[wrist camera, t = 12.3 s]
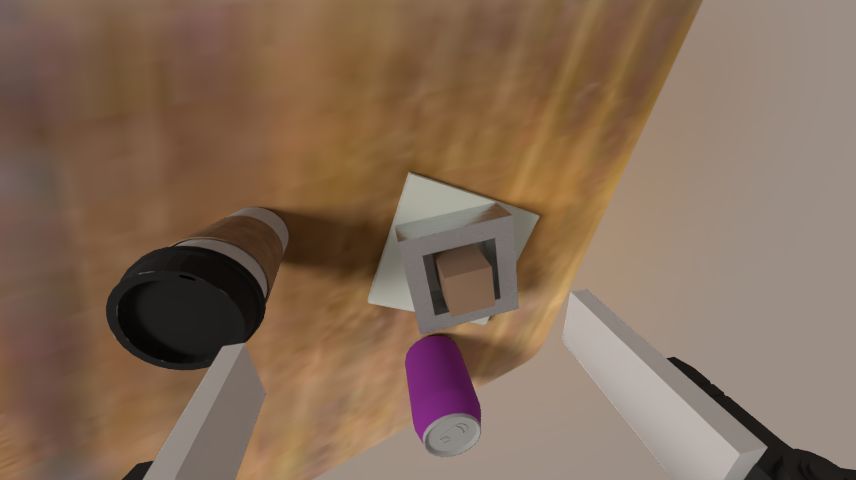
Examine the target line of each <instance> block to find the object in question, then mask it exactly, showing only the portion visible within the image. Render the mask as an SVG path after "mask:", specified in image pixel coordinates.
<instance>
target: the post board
mask: <svg viewBox="0 0 856 480" xmlns="http://www.w3.org/2000/svg"><path fill="white" fill-rule="evenodd" d="M494 202H496V203H497V204H499V205H500V206H501V207H503V208H504V209H505V210H507V211H508V212H509V213H511V214H512V215H513V225H514V241H515V258H516V263H517V261H518V259H519V257H520V255H521V253H522V251H523V249H524V247H525V245H526V243H527V241H528V239H529V237H530V235H531V233H532V230H533V228H534V226H535V224H536V222H537V220H538V218H539V215H537V214H535V213H533V212H530V211H527V210H524V209H521V208H518V207H515V206H512V205H509V204H506V203H503V202H500V201H497V200H494V199H491V198H488V197H484V196H481V195H478V194H475V193H472V192H469V191H466V190H463V189H460V188H457V187H454V186H451V185H448V184H445V183H442V182H439V181H436V180H433V179H430V178H427V177H424V176H421V175H418V174H415V173H412V172H409V173H408V176H407V179H406V182H405V185H404V188H403V192H402V195H401V198H400V201H399V204H398V207H397V210H396V213H395V216H394V219H393V222H392V225H391V228H390V231H389V234H388V237H387V240H386V243H385V246H384V250H383V253H382V256H381V259H380V262H379V265H378V268H377V271H376V274H375V277H374V280H373V283H372V286H371V289H370V292H369V295H368V303H371V304H376V305H382V306H387V307H392V308H397V309H403V310H408V311H413V312H415V310H414V306H413V302H412V298H411V294H410V290H409V286H408V282H407V278H406V274H405V270H404V265H403V261H402V257H401V253H400V249H399V245H398V241H397V236H396V231H395V225H399V224H404V223H408V222H412V221H417V220H421V219H425V218H430V217H434V216H438V215H442V214H447V213H451V212H455V211H460V210H464V209H468V208H473V207H477V206H481V205H486V204H490V203H494ZM422 257H423V262H424V266H425V271H426V276H427V281H428V285H429V290H430V292H434V291H438V290H441V292H442V294H443V297H444V299H445V302H446V304H447V307H448V309H449V312H450V315H451V317H454V316H458V315H462V314H465V313H469V312H473V311H477V310H481V309H485V308H488V307H492V306H495V296H494V286H493V276H492V266H491V265H490V264H489V263H488V261H487V260H486V259H485V257H484V252H483V243H482V241H481V242H477V243H472V244H468V245H464V246H460V247H456V248H452V249H448V250H444V251H440V252H435V253H431V254H427V255H423V256H422ZM489 317H490V316H489ZM489 317H485V318H481V319H478V320H474V321H470V322H471V323H476V324H481V325H486V323H487V321H488V319H489Z"/></svg>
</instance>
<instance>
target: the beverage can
mask: <svg viewBox="0 0 856 480" xmlns="http://www.w3.org/2000/svg"><path fill="white" fill-rule="evenodd" d="M405 366H406V373H407V381H408V388H409V395H410V402H411V409H412V417H413V424H414V427H415V431H416V432H417V434H418V436H419V438H420V439H421V441H422V443H423V445H424V447H425V449H426V450H427V451H428V452H429V453H431V454H433V455H435V456H440V457H449V456H454V455H458V454H461V453H463V452H465V451H467V450H468V449H470V448H471V447H472V446H473V445H475V443H476V442H477V441H478V439H479V437H480V434H481V409H480V404H479V401H478V398H477V396H476V393H475V390H474V388H473V385H472V382H471V379H470V377H469V374H468V371H467V369H466V366H465V363H464V361H463V358H462V355H461V353H460V350H459V349H458V347H457V345H456V344H455V342H454V341H452V340H451V339H449V338H447V337H443V336H430V337H426V338H423V339H421V340H419V341H417V342H416V343H415V344H414V345H413V346H412V347H411V348H410V349H409V351H408V353H407V354H406V360H405Z"/></svg>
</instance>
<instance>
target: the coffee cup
mask: <svg viewBox="0 0 856 480" xmlns="http://www.w3.org/2000/svg"><path fill="white" fill-rule="evenodd" d="M288 239H289V234H288V230H287V227H286V225H285V223H284V222H283V221H282V219H281V218H280V217H279V216H277V215H276V214H275V213H273V212H271V211H269V210H267V209H264V208H259V207H248V208H244V209H241V210H239V211H237V212H235V213H233V214H231V215H230V216H228V217H226V218H224V219H222V220H220V221H218V222H216V223H214V224H211V225H209V226H207V227H205V228H203V229H201V230H199V231H197V232H195V233H193V234H191V235H189V236H187V237H185V238H183V239H181V240H179V241H177V242H175V243H174V244H172V245H170V246H168V247H165V248H162V249H158V250H154V251H152V252H150V253H148V254H146V255H144V256H143V257H141V258H140V259H139V260H138V261H137V262H135V263H134V264H133V265H132V266H131V267H130V268H129V269H128V270H127V271H126V273H125V274H124V276H123V277H122V279H121V281H120V283H119V284H118V285H117V286H116V287H115V288H114V289H113V290H112V292H111V294H110V295H109V297H108V301H107V305H106V316H107V320H108V324H109V327H110V329H111V331H112V333H113V334H114V336H115V338H116V339H117V340H118V341H119V343H120V344H121V345H122V346H123V347H124V348H125V349H126V350H128V351H129V352H130V353H131V354H133V355H134V356H136V357H138V358H140V359H141V360H143V361H145V362H148V363H150V364H153V365H155V366H159V367H163V368H167V369H175V370H196V369H201V368H207V367H210V366H211V365H212V363H213V362H214V360H215V358H216V357H217V355H218V353H219V352H220V350H221V348H222V347H223V346H228V345H235V344H241V343H245V342H246V341H248V340H249V339H250V338H251V336H252V335H253V334H254V333H255V332H256V330H257V329H258V328H259V326H260V324H261V322H262V320H263V318H264V314H265V309H266V306H265V304H266V302H267V300H268V298H269V295H270V292H271V289H272V287H273V284H274V281H275V278H276V275H277V272H278V269H279V266H280V263H281V260H282V256H283V254H284V252H285V249H286V247H287V244H288Z"/></svg>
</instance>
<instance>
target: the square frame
mask: <svg viewBox="0 0 856 480" xmlns="http://www.w3.org/2000/svg"><path fill="white" fill-rule="evenodd" d="M395 231H396V236H397V241H398V245H399V249H400V253H401V257H402V261H403V265H404V270H405V274H406V278H407V282H408V286H409V290H410V294H411V298H412V302H413V306H414V310H415V315H416V319H417V323H418V327H419V331H420V335H421V334H425V333H429V332H432V331H436V330H440V329H444V328H447V327H451V326H455V325H459V324H462V323H466V322H470V321H474V320H478V319H481V318H485V317H489V316H493V315H496V314H500V313H504V312H508V311H511V310H515V309H519V306H518V290H517V274H516V258H515V241H514V225H513V215H512V214H511V213H509V212H508V211H507V210H505V209H504V208H503V207H501V206H500V205H499V204H497V203H496V202H494V203H490V204H486V205H481V206H477V207H473V208H468V209H464V210H460V211H455V212H451V213H447V214H442V215H438V216H434V217H430V218H425V219H421V220H417V221H412V222H408V223H404V224H399V225H395ZM481 241H482V243H483V252H484V257H485V259H486V260H487V261H488V263H489V264H490V265H491V266H492V276H493V286H494V296H495V306H492V307H488V308H485V309H481V310H477V311H473V312H469V313H465V314H462V315H458V316H454V317H451V315H450V312H449V309H448V307H447V304H446V302H445V299H444V297H443V294H442V292H441V290H438V291H434V292H430V290H429V285H428V281H427V276H426V271H425V266H424V262H423V257H422V256H423V255H427V254H431V253H435V252H440V251H444V250H448V249H452V248H456V247H460V246H464V245H468V244H472V243H477V242H481Z"/></svg>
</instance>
